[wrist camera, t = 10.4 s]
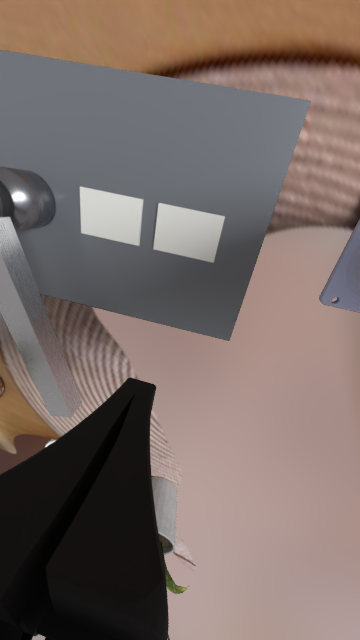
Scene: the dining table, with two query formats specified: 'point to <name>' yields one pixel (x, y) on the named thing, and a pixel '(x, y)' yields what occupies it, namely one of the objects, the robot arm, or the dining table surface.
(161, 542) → the house plant
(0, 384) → the sauce bottle
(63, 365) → the swing bar
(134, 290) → the label panel
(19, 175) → the grooved metal knob
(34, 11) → the dining table surface
